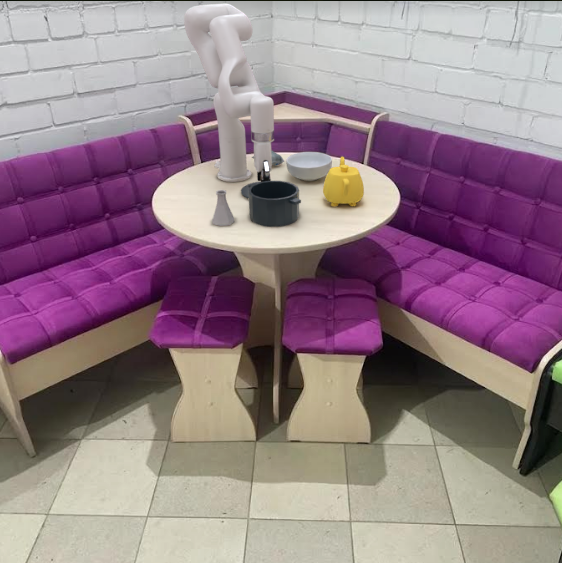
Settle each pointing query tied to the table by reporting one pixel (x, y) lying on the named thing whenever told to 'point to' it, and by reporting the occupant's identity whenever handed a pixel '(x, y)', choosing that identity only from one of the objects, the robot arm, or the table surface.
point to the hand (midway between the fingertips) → (264, 185)
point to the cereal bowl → (309, 165)
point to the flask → (222, 210)
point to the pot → (273, 203)
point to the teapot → (343, 185)
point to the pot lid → (245, 189)
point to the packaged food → (275, 159)
